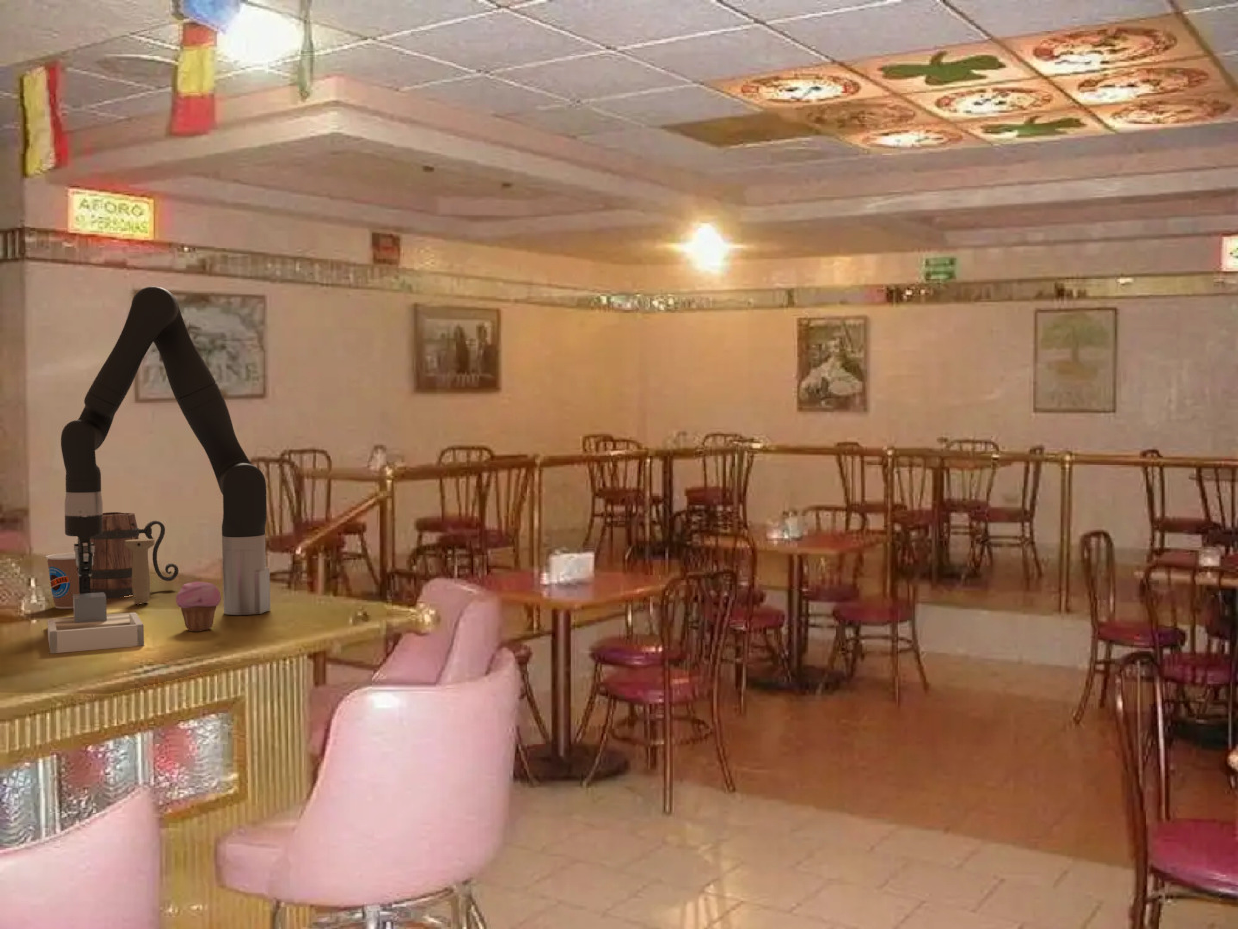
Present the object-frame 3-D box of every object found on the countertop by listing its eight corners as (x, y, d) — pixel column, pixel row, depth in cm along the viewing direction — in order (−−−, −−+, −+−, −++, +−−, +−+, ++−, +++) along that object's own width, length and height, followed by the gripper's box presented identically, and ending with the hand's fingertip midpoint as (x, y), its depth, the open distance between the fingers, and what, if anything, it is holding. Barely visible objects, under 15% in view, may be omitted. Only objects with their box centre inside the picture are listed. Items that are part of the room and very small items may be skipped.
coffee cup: (37, 607, 294) (36, 556, 293) (77, 602, 302) (75, 551, 302) (65, 611, 288) (63, 558, 288) (104, 605, 297) (103, 553, 296)
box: (48, 639, 252) (47, 618, 252) (136, 631, 259) (135, 612, 259) (50, 653, 237) (49, 632, 237) (144, 645, 244) (143, 624, 244)
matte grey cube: (73, 618, 265) (72, 594, 265) (104, 615, 268) (103, 592, 268) (75, 623, 259) (74, 598, 259) (106, 620, 262) (106, 596, 261)
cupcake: (173, 628, 263) (172, 580, 262) (216, 624, 267) (215, 577, 267) (181, 635, 255) (180, 585, 255) (225, 631, 259) (224, 582, 259)
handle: (155, 604, 296) (153, 540, 296) (125, 606, 295) (123, 541, 294) (157, 601, 301) (155, 538, 300) (128, 603, 299) (126, 539, 299)
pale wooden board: (47, 628, 265) (47, 618, 265) (129, 622, 272) (129, 612, 272) (49, 638, 252) (48, 628, 252) (135, 632, 259) (134, 622, 259)
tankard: (81, 601, 304) (78, 517, 303) (75, 592, 319) (72, 512, 318) (183, 593, 315) (181, 512, 314) (173, 585, 330) (171, 508, 329)
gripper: (63, 511, 277) (64, 590, 278) (66, 515, 265) (67, 598, 266) (100, 510, 280) (101, 589, 281) (104, 514, 268) (105, 596, 269)
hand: (84, 593), depth 273 cm, fingers closed
